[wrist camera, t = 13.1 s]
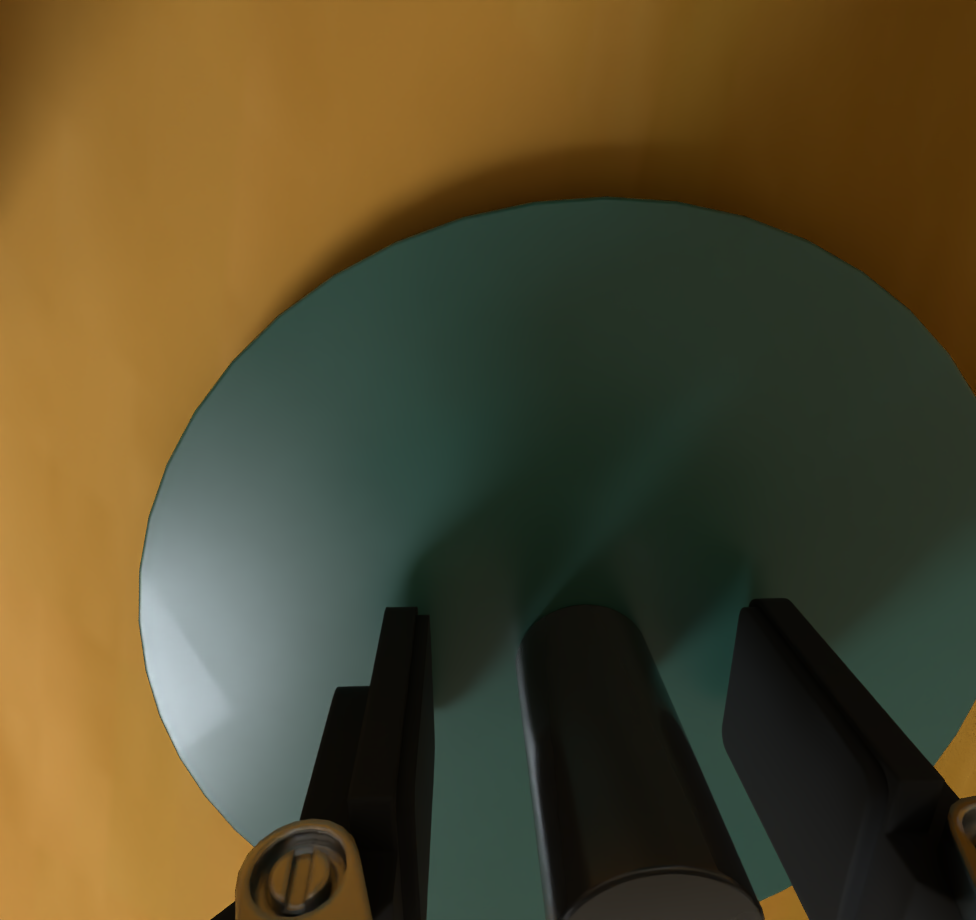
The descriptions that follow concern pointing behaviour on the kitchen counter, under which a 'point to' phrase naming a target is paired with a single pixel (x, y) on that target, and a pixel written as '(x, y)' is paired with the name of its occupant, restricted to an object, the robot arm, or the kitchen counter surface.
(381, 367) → the tin lid
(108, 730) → the kitchen counter surface
